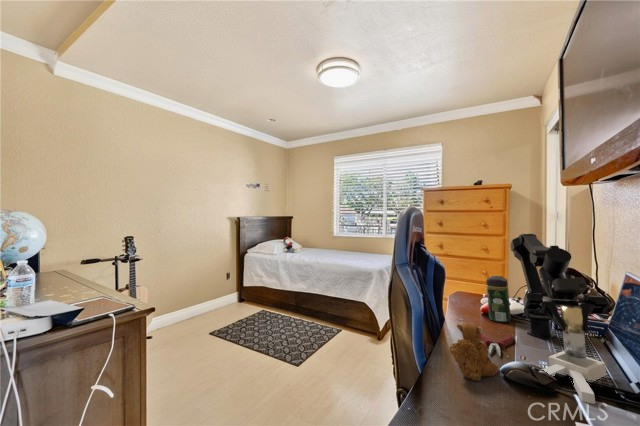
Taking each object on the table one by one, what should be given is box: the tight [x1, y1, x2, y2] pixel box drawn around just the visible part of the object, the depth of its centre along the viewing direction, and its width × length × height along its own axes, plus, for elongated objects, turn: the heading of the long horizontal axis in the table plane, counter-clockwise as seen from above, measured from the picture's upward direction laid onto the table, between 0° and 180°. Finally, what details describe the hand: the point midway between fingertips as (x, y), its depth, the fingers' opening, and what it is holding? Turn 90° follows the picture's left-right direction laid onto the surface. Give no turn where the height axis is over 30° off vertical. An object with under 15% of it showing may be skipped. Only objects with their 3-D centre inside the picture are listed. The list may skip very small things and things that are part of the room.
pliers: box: [481, 332, 514, 357], centre depth 93 cm, size 11×20×3 cm, turn 148°
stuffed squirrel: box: [447, 321, 499, 382], centre depth 76 cm, size 10×14×13 cm
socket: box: [541, 350, 607, 405], centre depth 70 cm, size 20×13×4 cm, turn 113°
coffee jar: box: [485, 275, 512, 323], centre depth 118 cm, size 10×8×19 cm
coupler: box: [559, 305, 587, 359], centre depth 75 cm, size 4×4×13 cm
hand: (575, 331), depth 74 cm, fingers closed on coupler, 4 cm apart
